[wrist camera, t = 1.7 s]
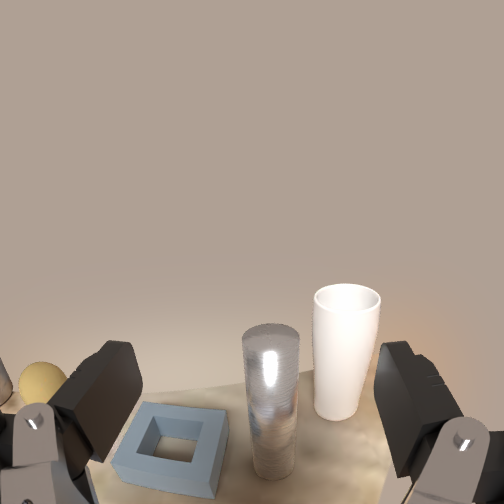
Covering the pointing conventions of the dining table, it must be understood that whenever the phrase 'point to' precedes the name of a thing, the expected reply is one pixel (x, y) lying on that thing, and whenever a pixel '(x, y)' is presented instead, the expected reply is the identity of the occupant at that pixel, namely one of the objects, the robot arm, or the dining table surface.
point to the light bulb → (40, 382)
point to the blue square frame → (171, 471)
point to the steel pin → (272, 396)
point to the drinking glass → (342, 346)
